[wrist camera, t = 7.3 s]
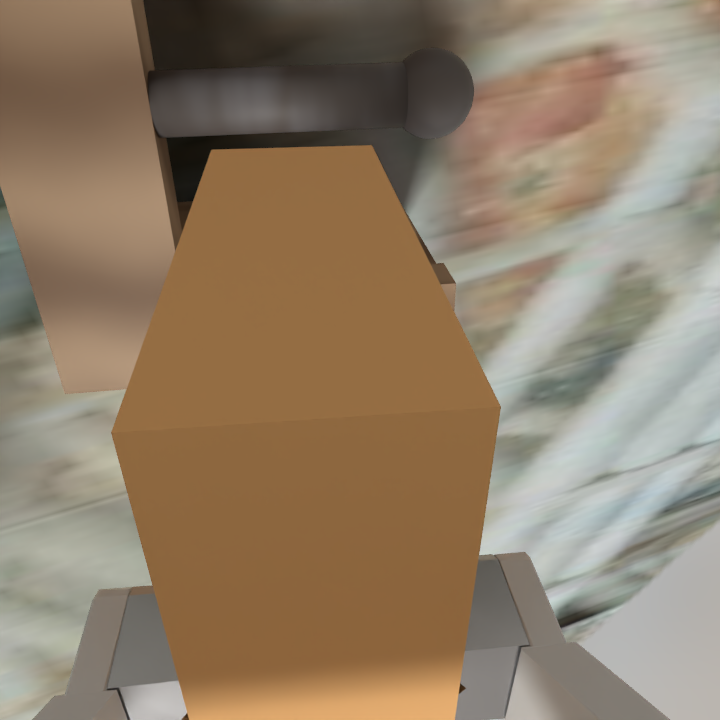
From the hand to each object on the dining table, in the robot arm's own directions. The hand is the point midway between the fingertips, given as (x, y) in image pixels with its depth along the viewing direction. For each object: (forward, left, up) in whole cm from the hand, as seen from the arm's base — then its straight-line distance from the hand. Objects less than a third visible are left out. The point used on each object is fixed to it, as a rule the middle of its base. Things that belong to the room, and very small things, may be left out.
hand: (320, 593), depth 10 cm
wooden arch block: (0, 0, -8) cm, 8 cm away
